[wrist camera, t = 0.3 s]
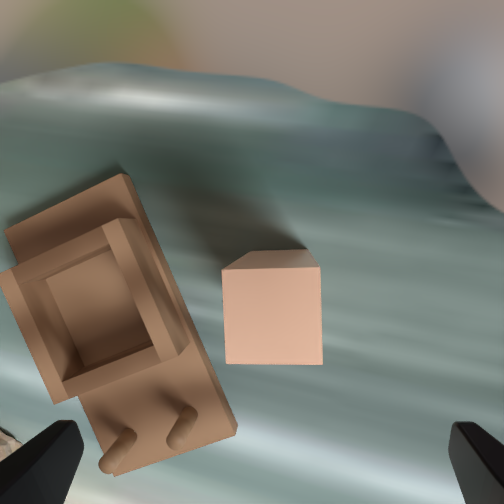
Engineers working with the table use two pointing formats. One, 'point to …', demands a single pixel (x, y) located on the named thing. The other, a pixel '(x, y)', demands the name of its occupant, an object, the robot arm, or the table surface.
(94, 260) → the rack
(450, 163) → the table surface
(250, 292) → the clay bar
